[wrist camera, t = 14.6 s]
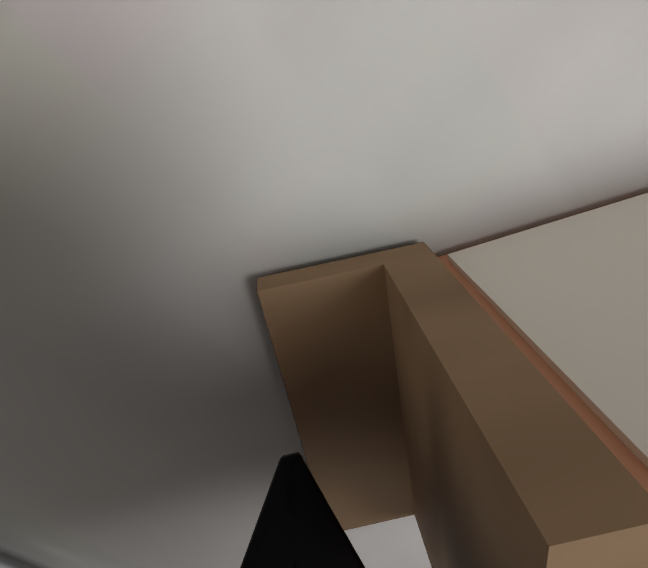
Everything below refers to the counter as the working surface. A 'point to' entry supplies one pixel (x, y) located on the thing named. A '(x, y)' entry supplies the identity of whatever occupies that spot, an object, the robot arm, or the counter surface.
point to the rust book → (577, 314)
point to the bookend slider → (443, 420)
